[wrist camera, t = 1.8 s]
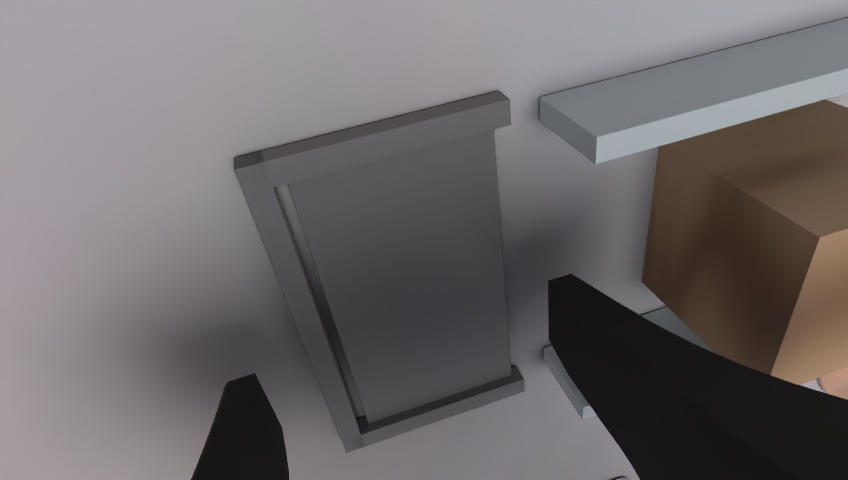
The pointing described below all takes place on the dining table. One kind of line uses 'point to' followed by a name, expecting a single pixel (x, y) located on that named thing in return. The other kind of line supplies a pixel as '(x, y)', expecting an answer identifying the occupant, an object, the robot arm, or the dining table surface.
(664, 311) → the grey parallel rails
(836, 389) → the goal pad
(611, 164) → the dining table surface
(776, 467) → the robot arm
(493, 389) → the tray
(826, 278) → the walnut block
